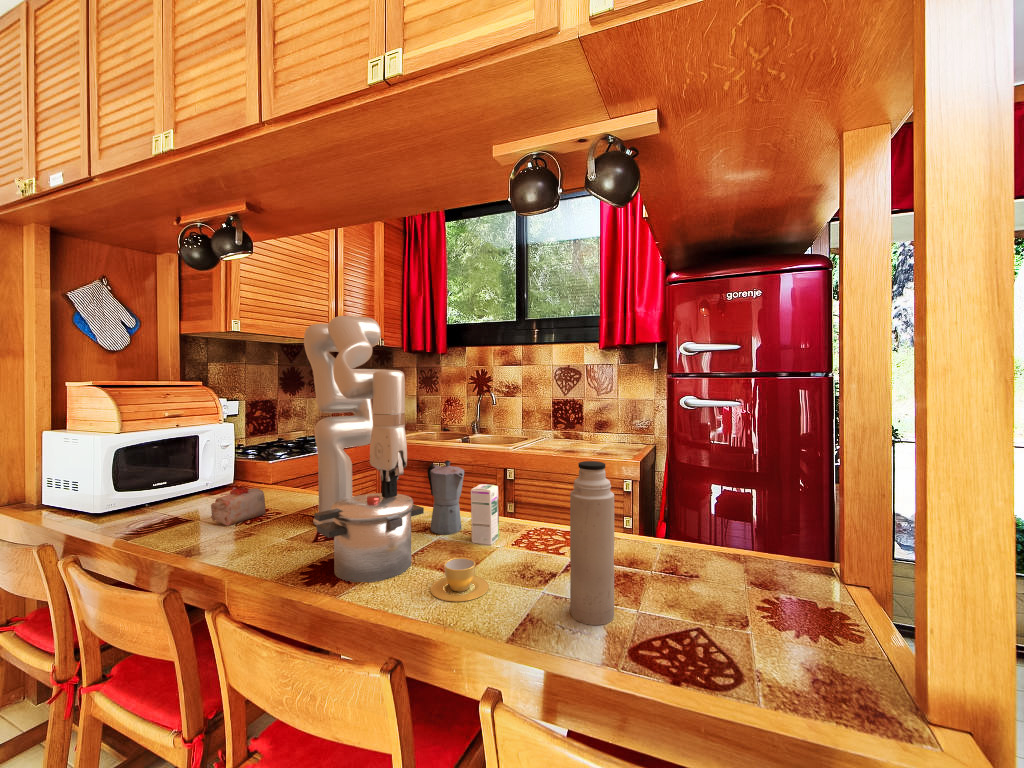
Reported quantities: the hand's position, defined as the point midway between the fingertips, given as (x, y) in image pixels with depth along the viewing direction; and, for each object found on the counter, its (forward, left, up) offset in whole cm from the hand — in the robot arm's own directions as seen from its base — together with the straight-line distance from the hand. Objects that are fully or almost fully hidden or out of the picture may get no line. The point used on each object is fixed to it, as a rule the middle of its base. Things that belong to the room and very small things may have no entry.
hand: (389, 496), depth 111 cm
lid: (+2, -7, -2) cm, 8 cm away
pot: (+2, -6, -15) cm, 16 cm away
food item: (-59, -16, -15) cm, 63 cm away
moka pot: (-6, +21, -15) cm, 27 cm away
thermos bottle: (+51, +11, -15) cm, 54 cm away
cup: (+25, +1, -15) cm, 29 cm away
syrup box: (+9, +23, -15) cm, 29 cm away
